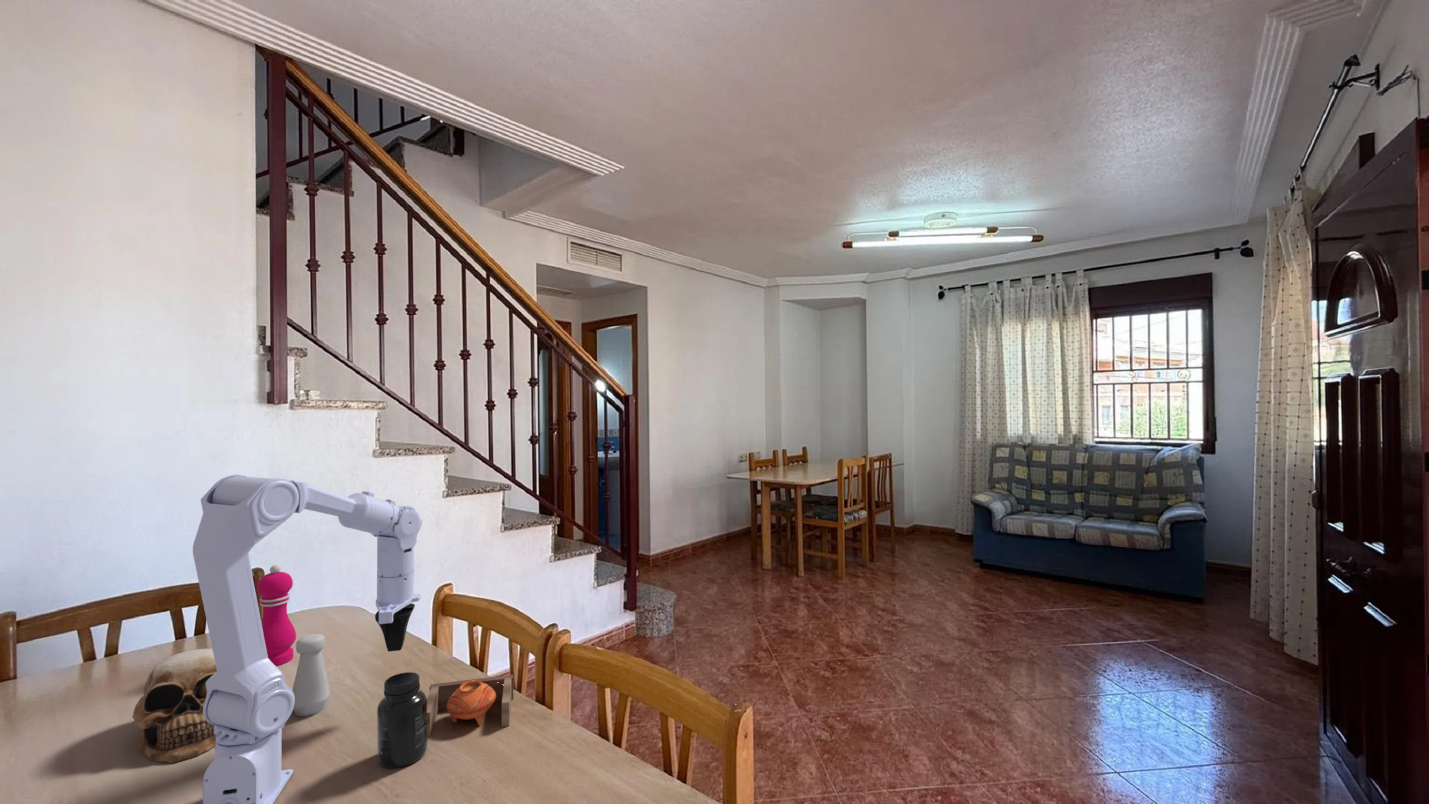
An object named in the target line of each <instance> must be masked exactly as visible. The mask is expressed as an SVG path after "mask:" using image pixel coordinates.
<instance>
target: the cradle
mask: <svg viewBox="0 0 1429 804" xmlns="http://www.w3.org/2000/svg"><path fill="white" fill-rule="evenodd" d="M470 680H480V681H481V682H482V683H485V684H487V685H489V686H490V687H491V688H492V689H493V690H494V691H495V693H496V699H495V701H494V703H496V702H501V727H502V728H503V727H509V726H510V721H511V719H510V718H511V709H512V700H514V674H507V675H499V676H490V677H482V678H475V679H474V678H472V679H465V680H457V681H448V682H439V683H432V684H430V685H429V693H428V695H427V738H431V734H432V731H433V728H434V725H435V722H436V719H437V716H438V712H439V710H441V709H442V710H443V709H447V701H448V699H449V698H450V697H451V695H452V694H453V693H454V692H455V691H456V690H457V689H458V688H459V687H460V686H461V685H462V684H463V683H465V682H467V681H470ZM497 682H499V683H497ZM502 684H504V686H503V685H502Z"/></svg>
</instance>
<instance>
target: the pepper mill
mask: <svg viewBox="0 0 1429 804" xmlns="http://www.w3.org/2000/svg"><path fill="white" fill-rule="evenodd" d="M269 572H270V573H269ZM269 572H268V573H267V574H265V575H263V576H262V577H260V579H259V580H258V582H257V586H256V591H257V594H258V595H259V596H261V597H260V598H259V602H260V603H259V605H260V606H261V607H262V619H261V624H262V629H263V634H264V640H265V645H266V650H267V656H268V658H269V660H270V661H271V662H272V663H273V664H274V665H275V666H276V667H278V666H281V665H285V664H287V663H289V662H290V661H292V659H293V658H294V648H293V647H292V646H293V645H294V643H296V640H297V631H296V629H295V626H294V624H293V623H292V621H291V620H290V617H289V614H288V603H289V602H290V601H291V594H290V593H289V592H290V591H291V589H292V588H293V585H294V583H293V582H294V581H293V578H292V576H291V574H289V573H287V572H283V571H281V566H280V565H278V564H273V565H272V566H271V567H270V568H269Z"/></svg>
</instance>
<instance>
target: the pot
mask: <svg viewBox="0 0 1429 804" xmlns="http://www.w3.org/2000/svg"><path fill="white" fill-rule="evenodd" d="M469 680H470V681H467V682H465V683H463V684H462V685H461V686H460V687H459V688H458V689H457V690H456V691H455V692H454V693H453V694H452V695H451V697H450V698H449V699H448V701H447V708H446V710H447V712H448V713H449V715H450V718H451V721H452V723H457V721H458V719H460V720H473V719H475V721H476V722H477V724H478V727H479V726H481V725H482V724H483V719H484V714H486V712H488V711H489V710H490V708H491V707H492V706H493V704H494V703H495V702H494V701H495V699H496V693H495V691H494V690H493V689H492V688H491V687H490V686H489V685H487V684H485V683H482V682H481V681H480V680H472V679H469Z"/></svg>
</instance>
